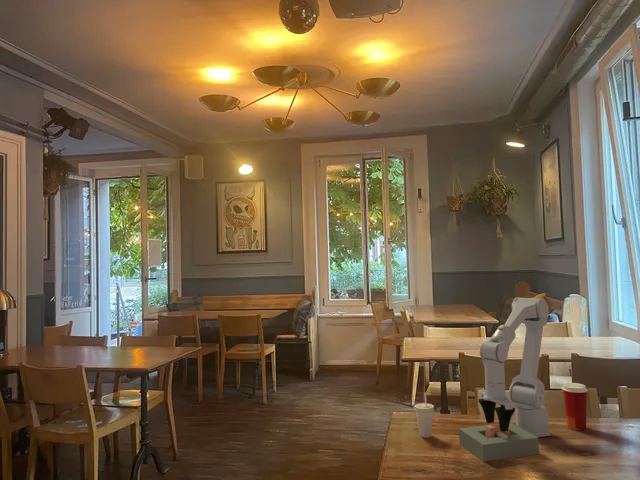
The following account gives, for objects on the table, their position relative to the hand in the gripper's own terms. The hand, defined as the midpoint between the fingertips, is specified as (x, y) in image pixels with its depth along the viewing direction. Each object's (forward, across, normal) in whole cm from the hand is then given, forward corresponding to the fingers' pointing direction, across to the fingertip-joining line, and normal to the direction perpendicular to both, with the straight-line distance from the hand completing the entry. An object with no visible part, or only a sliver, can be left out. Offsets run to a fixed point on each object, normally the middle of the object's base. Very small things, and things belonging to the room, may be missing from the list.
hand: (497, 426), depth 153 cm
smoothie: (+7, -17, -16) cm, 24 cm away
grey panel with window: (+7, 0, 0) cm, 7 cm away
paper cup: (+7, -8, +34) cm, 36 cm away
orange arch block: (+6, 0, 0) cm, 6 cm away
